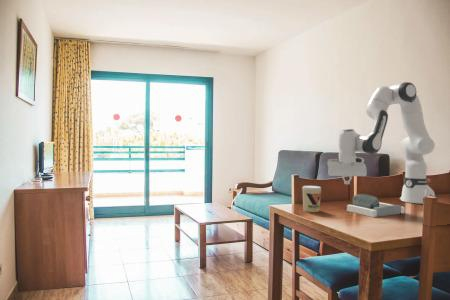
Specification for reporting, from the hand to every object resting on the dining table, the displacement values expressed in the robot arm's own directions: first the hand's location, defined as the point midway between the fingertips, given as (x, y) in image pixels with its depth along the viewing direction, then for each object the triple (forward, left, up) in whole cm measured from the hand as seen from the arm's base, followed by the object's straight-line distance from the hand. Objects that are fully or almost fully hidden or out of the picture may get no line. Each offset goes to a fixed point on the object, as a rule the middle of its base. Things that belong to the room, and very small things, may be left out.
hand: (347, 184), depth 204 cm
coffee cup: (+29, +3, -12) cm, 31 cm away
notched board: (+1, +19, -12) cm, 23 cm away
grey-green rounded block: (+2, +14, -12) cm, 19 cm away
